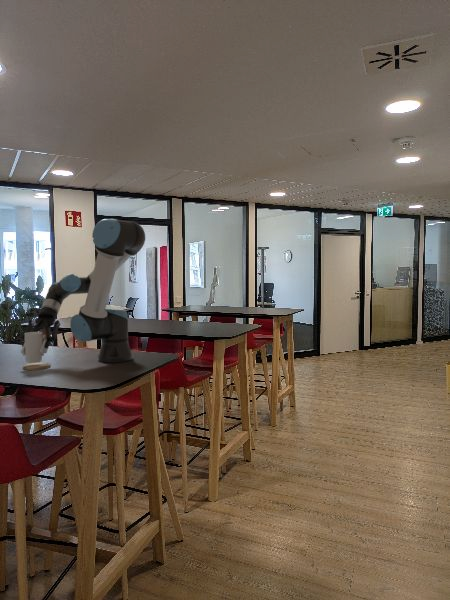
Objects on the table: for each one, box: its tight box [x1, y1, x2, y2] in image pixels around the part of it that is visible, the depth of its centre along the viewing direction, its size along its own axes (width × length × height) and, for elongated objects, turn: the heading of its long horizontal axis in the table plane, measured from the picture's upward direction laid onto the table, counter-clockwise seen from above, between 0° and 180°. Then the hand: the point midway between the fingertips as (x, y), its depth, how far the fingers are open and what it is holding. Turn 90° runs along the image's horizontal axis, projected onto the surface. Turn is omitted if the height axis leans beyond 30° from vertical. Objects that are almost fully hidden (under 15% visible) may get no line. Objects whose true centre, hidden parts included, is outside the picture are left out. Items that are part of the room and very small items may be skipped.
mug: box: [24, 331, 49, 364], centre depth 195 cm, size 10×7×12 cm, turn 135°
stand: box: [22, 362, 51, 371], centre depth 196 cm, size 11×11×1 cm
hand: (32, 353), depth 192 cm, fingers closed on mug, 7 cm apart
